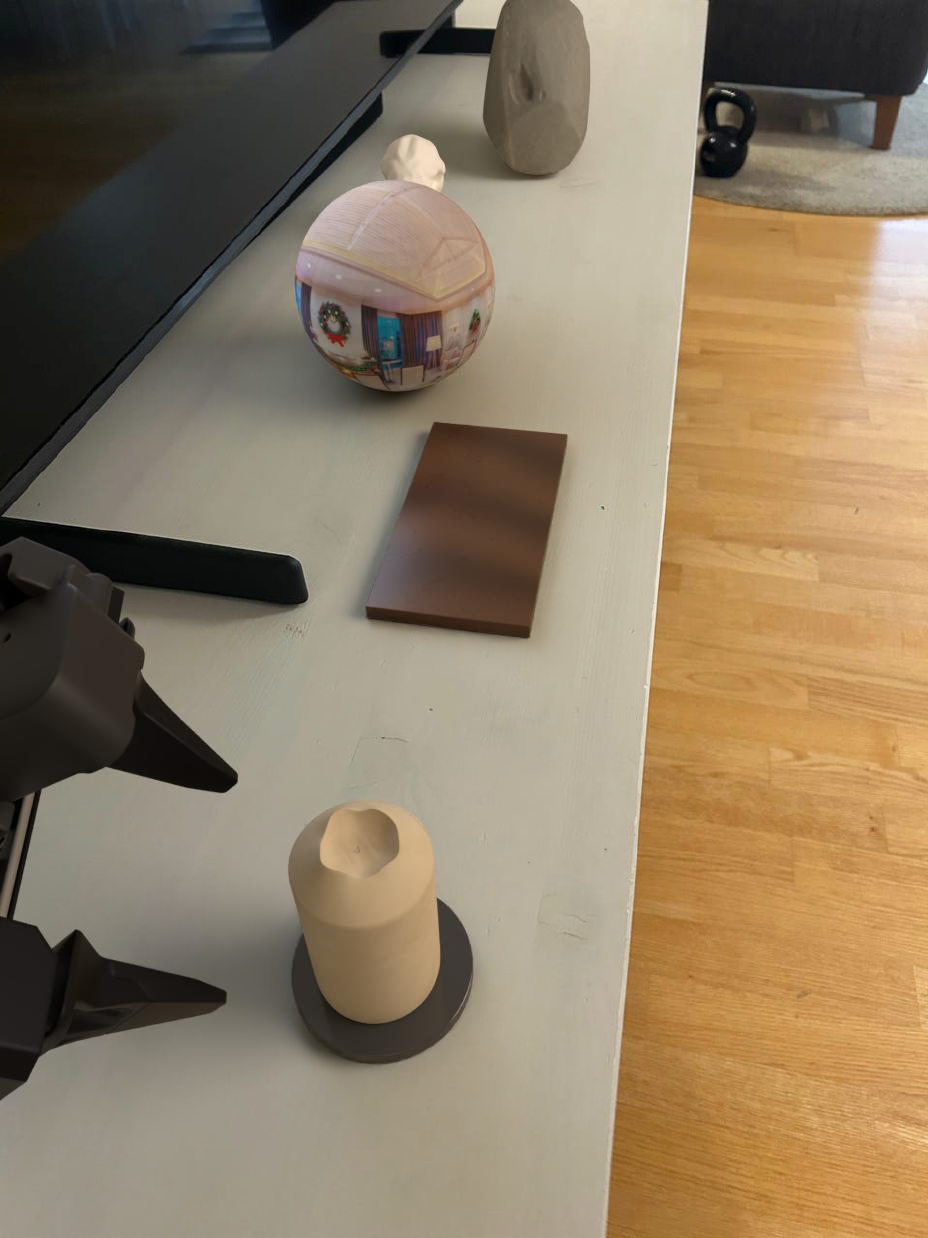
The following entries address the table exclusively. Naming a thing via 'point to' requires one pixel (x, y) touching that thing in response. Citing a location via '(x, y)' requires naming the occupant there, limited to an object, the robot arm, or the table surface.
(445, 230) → the ornament
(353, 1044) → the coaster
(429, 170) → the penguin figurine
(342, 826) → the candle
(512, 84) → the decorative stone
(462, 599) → the walnut board
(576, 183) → the table surface
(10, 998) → the robot arm
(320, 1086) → the table surface
